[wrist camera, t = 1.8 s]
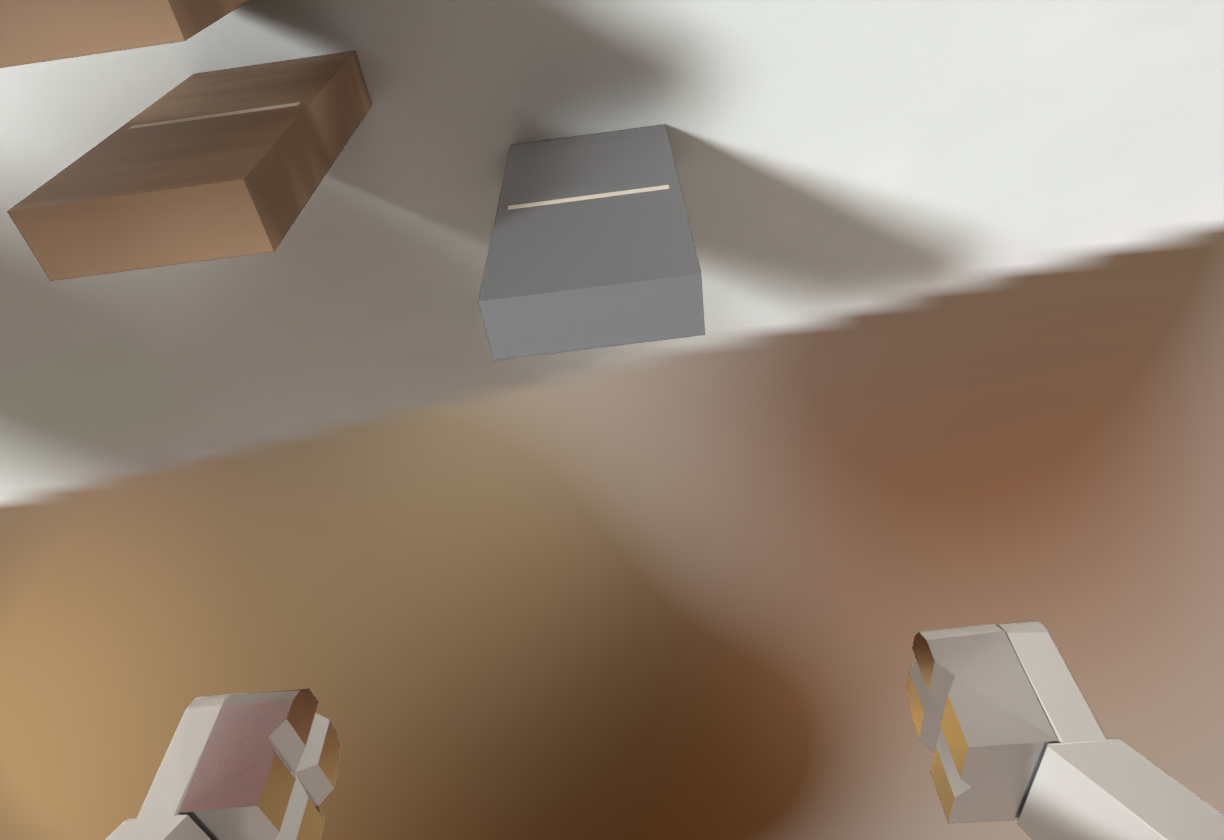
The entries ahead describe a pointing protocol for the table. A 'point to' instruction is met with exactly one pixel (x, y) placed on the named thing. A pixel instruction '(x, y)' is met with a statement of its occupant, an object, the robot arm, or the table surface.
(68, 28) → the domino
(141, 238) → the domino
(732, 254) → the table surface
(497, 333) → the end domino
